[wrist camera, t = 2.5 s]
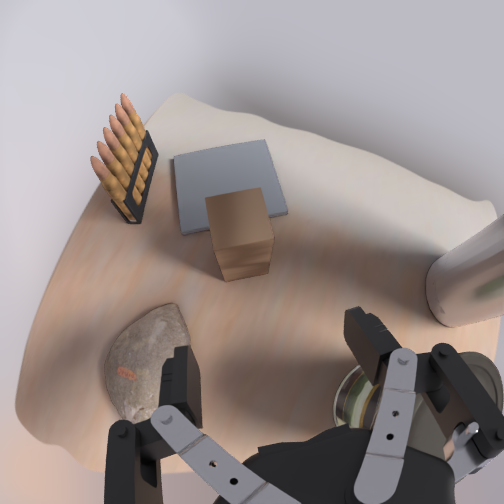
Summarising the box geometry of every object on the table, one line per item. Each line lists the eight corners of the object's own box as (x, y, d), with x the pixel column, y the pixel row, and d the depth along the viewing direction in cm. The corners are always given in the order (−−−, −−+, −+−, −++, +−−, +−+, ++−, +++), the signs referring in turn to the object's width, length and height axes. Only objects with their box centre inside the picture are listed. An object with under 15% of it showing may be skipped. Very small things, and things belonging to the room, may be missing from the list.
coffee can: (326, 368, 26) (389, 379, 13) (411, 347, 26) (500, 333, 13) (335, 456, 23) (391, 517, 9) (417, 429, 23) (500, 454, 10)
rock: (210, 312, 29) (131, 300, 31) (197, 299, 25) (112, 287, 27) (187, 450, 22) (107, 422, 24) (171, 459, 19) (84, 424, 20)
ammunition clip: (146, 154, 35) (117, 89, 24) (158, 153, 35) (132, 87, 24) (127, 224, 32) (79, 166, 20) (140, 224, 32) (96, 164, 20)
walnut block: (258, 234, 31) (260, 187, 22) (267, 273, 30) (274, 238, 21) (217, 242, 31) (204, 197, 22) (225, 282, 29) (213, 250, 20)
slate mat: (264, 143, 36) (265, 139, 35) (287, 214, 32) (288, 211, 31) (175, 160, 35) (173, 156, 34) (182, 234, 31) (181, 232, 30)
